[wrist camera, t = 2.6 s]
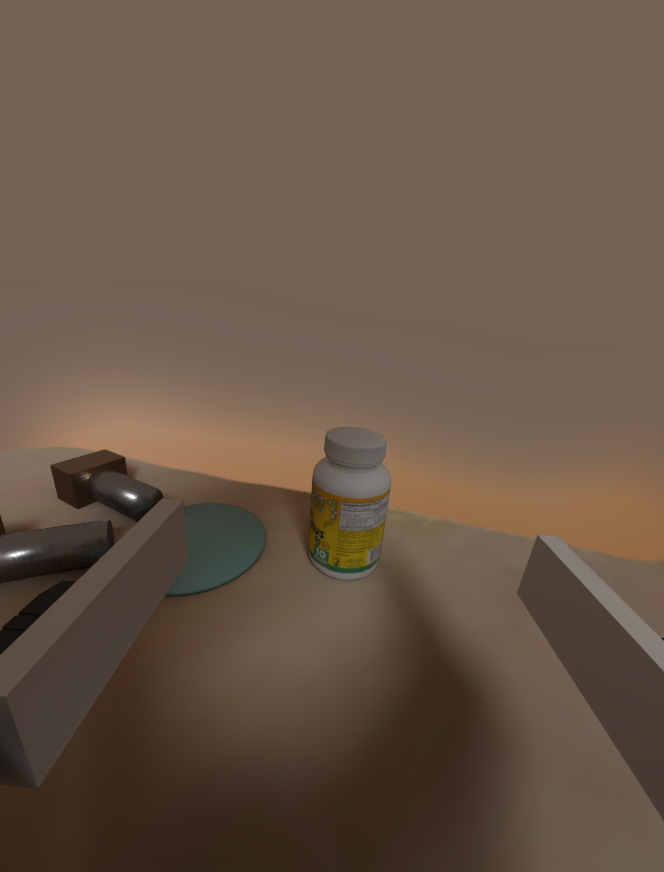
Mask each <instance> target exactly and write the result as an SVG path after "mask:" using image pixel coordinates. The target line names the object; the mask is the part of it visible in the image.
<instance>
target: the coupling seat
mask: <svg viewBox="0 0 664 872" xmlns="http://www.w3.org/2000/svg"><path fill="white" fill-rule="evenodd" d="M184 518H185V532H186V547H187V562H186V564H185V566H184V567H183V569H182V570H181V572H180V573H179V575H178V576H177V578H176V579H175V581H174V582H173V584H172V585H171V587H170V588H169V590H168V591H167V593H166V594H165V596H182V595H190V594H196V593H201V592H205V591H208V590H211V589H214V588H217V587H220V586H222V585H224V584H226V583H229V582H230V581H232V580H234V579H236V578H237V577H239V576H240V575H242V574H243V573H245V572H246V571H247V570H248V569H249V568H250V567H252V566H253V564H254V563H255V562H256V561H257V560H258V558H259V557H260V555H261V553H262V551H263V549H264V545H265V529H264V527H263V524H262V523H261V521H260V520H259V519H258V518H257V517H256V516H255V515H253V514H252V513H250V512H249V511H247V510H245V509H242V508H239V507H236V506H232V505H226V504H197V505H190V506H185V507H184Z"/></svg>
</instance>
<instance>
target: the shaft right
mask: <svg viewBox="0 0 664 872" xmlns="http://www.w3.org/2000/svg"><path fill="white" fill-rule="evenodd" d="M50 466H51V470H52V475H53V479H54V483H55V488H56V492H57V496H58V499H60V500H62V501H64V502H66V503H68V504H69V505H71V506H73V507H75V508H77V509H79V508H81V507H84V506H86V505H89V504H91V503H93V502H96V501H98V502H100V503H102V504H104V505H106V506H108V507H110V508H112V509H114V510H116V511H118V512H120V513H122V514H124V515H126V516H128V517H130V518H132V519H134V520H136V521H140V520H141V519H142V518H143V517H144V516H145V515H146V514H147V513H148V512H149V511H150V510H151V509H152V508H153V507H154V506H155V505H156V504H157V503H158V502H159V501H160V500H161V499H162V498H163V494H162V492H161V491H160V490H159V489H157V488H154V487H152V486H150V485H147V484H145V483H143V482H140V481H138V480H136V479H133V478H131V477H129V476H128V475H127V468H126V462H125V457H123V456H121V455H118V454H116V453H113V452H110V451H107V450H101V451H98V452H94V453H91V454H87V455H84V456H80V457H77V458H73V459H70V460H66V461H63V462H59V463H56V464H53V465H50Z"/></svg>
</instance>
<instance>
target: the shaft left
mask: <svg viewBox="0 0 664 872" xmlns="http://www.w3.org/2000/svg"><path fill="white" fill-rule="evenodd" d="M113 546H114V535H113V527H112V524H111V521H110V520H102V521H95V522H88V523H81V524H73V525H66V526H59V527H52V528H45V529H37V530H30V531H23V532H16V533H8V534H6V532H5V529H4V526H3V522H2V519H1V516H0V582H6V581H11V580H17V579H22V578H28V577H33V576H39V575H44V574H50V573H55V572H60V571H66V570H71V569H77V568H82V567H88V566H93V565H94V564H95V563H96V562H97V561H98V560H99V559H100V558H101V557H102V556H103V555H104V554H105V553H106V552H107V551H109V550H110V549H111V548H112V547H113Z"/></svg>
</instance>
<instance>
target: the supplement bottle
mask: <svg viewBox="0 0 664 872" xmlns="http://www.w3.org/2000/svg"><path fill="white" fill-rule="evenodd" d="M385 449H386V439H385V438H384V436H382V435H381V434H379V433H376V432H374V431H370V430H367V429H362V428H354V427H341V428H334V429H331V430H329V431H328V432H327V433H326V437H325V446H324V451H325V454H326V457H325V458H323V459H322V460H320V461H319V462H318V464H317V465H316V466H315V468H314V472H313V479H312V495H311V511H310V528H309V542H308V553H309V557H310V560H311V562H312V563H313V565H314V566H315V567H316V568H318V569H319V570H320V571H321V572H323V573H324V574H326V575H327V576H330V577H332V578H336V579H340V580H355V579H360V578H363V577H365V576H367V575H368V574H370V573H371V572H372V571H373V570H374V569H375V568H376V566H377V564H378V562H379V558H380V553H381V546H382V540H383V533H384V526H385V519H386V513H387V507H388V500H389V494H390V487H391V477H390V473H389V471H388V470H387V468H386V467H385V466H384V465H382V461H383V459H384V458H385Z"/></svg>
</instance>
